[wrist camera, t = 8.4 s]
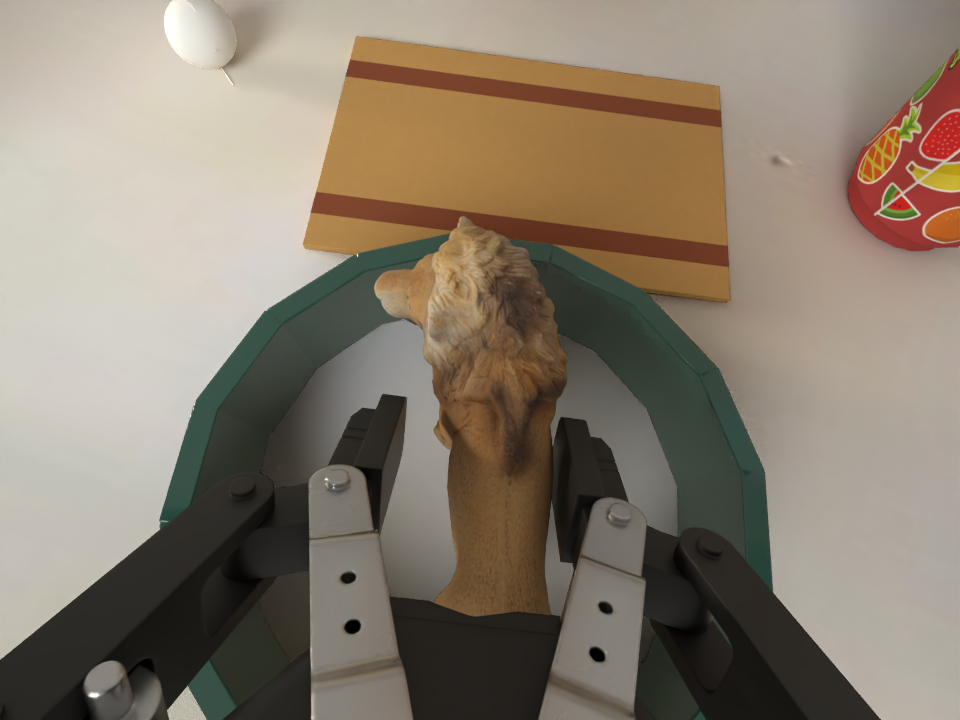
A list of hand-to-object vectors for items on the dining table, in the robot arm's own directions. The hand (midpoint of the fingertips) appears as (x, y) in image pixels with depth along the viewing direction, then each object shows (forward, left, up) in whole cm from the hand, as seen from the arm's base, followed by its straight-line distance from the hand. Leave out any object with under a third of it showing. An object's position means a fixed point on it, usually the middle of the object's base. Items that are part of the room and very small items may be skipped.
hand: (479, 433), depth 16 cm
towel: (+1, +15, -6) cm, 16 cm away
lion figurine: (0, -2, -5) cm, 5 cm away
